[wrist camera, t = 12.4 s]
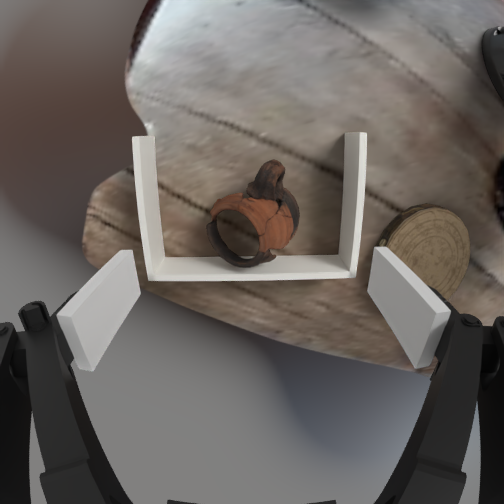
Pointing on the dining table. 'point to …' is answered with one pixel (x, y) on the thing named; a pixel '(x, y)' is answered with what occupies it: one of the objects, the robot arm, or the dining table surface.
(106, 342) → the robot arm
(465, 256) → the wood slice
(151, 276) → the bin
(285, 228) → the pottery mug
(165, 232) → the dining table surface
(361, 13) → the dining table surface
